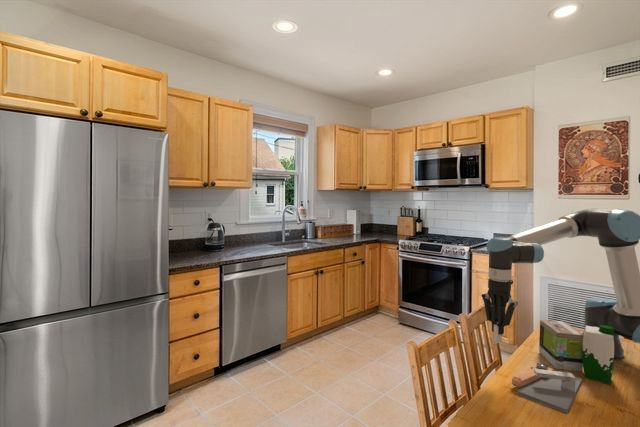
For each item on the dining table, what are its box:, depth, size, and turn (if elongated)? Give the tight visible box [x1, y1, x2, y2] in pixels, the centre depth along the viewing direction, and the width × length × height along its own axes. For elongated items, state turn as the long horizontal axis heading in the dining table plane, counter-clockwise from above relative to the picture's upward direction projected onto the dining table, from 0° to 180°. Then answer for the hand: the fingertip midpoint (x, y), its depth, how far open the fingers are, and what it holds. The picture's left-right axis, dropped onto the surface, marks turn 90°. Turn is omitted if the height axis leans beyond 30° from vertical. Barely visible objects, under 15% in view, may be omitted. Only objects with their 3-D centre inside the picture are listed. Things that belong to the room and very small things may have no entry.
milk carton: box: [582, 325, 615, 386], centre depth 124 cm, size 9×9×20 cm
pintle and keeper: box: [534, 362, 575, 392], centre depth 118 cm, size 13×14×5 cm
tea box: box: [538, 319, 584, 372], centre depth 137 cm, size 15×10×15 cm, turn 168°
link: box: [511, 364, 554, 388], centre depth 121 cm, size 20×5×2 cm, turn 119°
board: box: [516, 369, 583, 414], centre depth 118 cm, size 26×14×1 cm, turn 134°
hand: (497, 341), depth 124 cm, fingers closed
